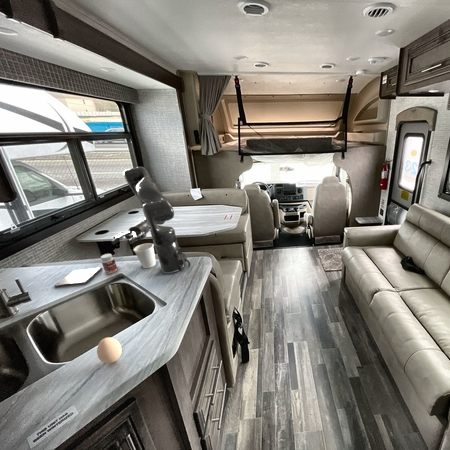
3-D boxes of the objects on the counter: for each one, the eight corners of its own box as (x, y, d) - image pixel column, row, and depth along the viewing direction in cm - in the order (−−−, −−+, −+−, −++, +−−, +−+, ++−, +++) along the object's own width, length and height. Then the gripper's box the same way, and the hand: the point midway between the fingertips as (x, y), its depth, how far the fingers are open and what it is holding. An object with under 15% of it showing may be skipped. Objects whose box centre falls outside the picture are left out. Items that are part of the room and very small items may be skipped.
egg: (114, 351, 73) (105, 330, 69) (129, 353, 72) (120, 333, 68) (98, 367, 68) (87, 346, 65) (113, 370, 67) (103, 348, 64)
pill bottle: (111, 274, 112) (105, 258, 109) (103, 273, 113) (96, 258, 110) (120, 268, 116) (114, 253, 113) (112, 267, 117) (106, 252, 114)
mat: (102, 269, 117) (101, 267, 116) (85, 283, 106) (84, 282, 105) (74, 272, 115) (73, 270, 115) (55, 287, 104) (54, 285, 104)
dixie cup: (161, 259, 123) (156, 242, 119) (154, 268, 115) (149, 250, 111) (144, 261, 122) (138, 244, 118) (136, 270, 114) (129, 252, 110)
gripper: (125, 223, 135) (104, 236, 120) (150, 223, 135) (132, 235, 120) (129, 235, 138) (109, 249, 123) (154, 235, 138) (137, 248, 123)
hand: (121, 242), depth 121 cm, fingers open, 8 cm apart
